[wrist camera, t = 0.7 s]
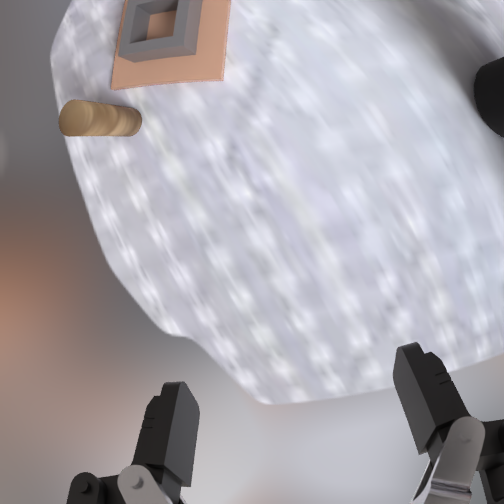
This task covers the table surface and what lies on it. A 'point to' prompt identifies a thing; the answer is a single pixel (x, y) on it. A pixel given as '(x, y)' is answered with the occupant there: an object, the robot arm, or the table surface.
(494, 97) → the coffee jar
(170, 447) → the robot arm
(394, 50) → the table surface
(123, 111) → the tan dome-topped cylinder
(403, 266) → the table surface
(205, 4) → the holder
